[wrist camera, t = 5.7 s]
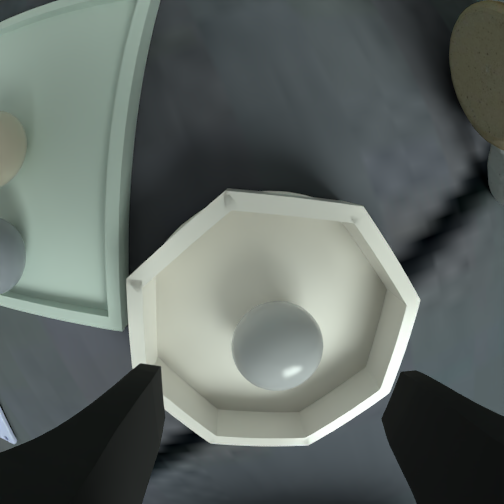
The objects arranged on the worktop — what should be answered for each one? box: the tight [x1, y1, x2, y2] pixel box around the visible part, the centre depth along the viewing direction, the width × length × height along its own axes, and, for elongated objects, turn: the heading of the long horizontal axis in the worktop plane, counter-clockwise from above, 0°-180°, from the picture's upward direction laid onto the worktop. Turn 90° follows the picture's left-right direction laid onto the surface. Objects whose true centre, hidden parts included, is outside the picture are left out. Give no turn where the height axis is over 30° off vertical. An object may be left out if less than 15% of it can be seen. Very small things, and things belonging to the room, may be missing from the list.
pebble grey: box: [231, 301, 323, 391], centre depth 11 cm, size 3×3×3 cm
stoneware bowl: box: [126, 188, 420, 446], centre depth 12 cm, size 11×11×2 cm
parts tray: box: [0, 0, 161, 331], centre depth 10 cm, size 12×15×1 cm
